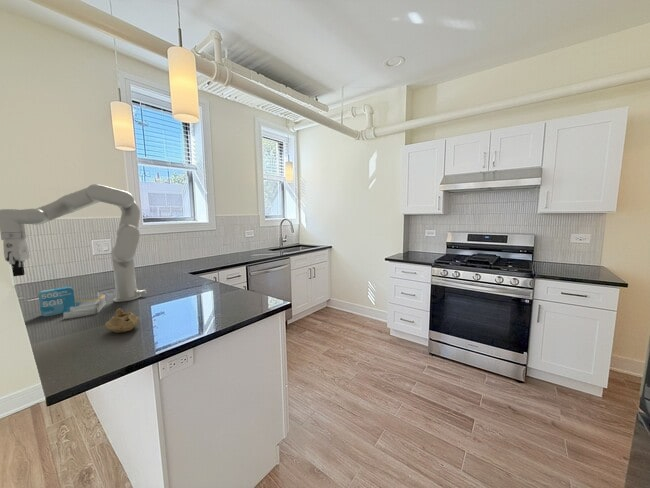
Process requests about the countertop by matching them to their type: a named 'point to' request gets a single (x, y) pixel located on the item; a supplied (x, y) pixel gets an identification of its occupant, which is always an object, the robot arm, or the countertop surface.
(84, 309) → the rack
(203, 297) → the countertop surface
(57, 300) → the data package
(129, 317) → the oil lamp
